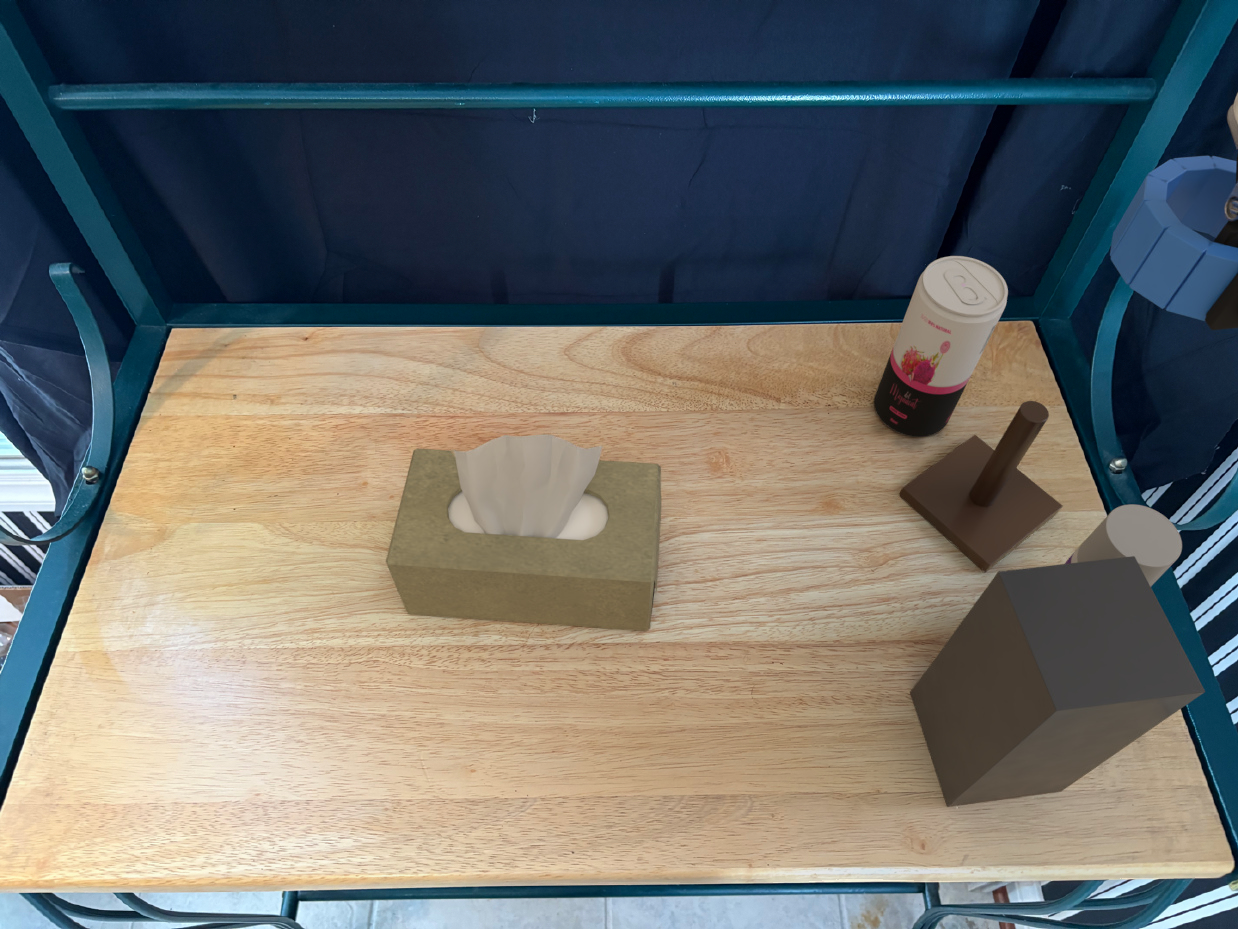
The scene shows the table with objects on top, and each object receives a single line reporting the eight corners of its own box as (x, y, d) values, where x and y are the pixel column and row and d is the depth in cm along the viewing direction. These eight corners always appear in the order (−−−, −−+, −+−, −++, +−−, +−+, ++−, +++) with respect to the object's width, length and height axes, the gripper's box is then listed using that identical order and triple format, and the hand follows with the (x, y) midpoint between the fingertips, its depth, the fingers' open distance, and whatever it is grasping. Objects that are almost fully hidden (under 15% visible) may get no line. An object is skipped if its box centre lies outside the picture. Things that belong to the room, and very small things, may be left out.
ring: (1302, 276, 45) (1351, 218, 42) (1216, 345, 42) (1262, 288, 39) (1167, 195, 48) (1204, 136, 45) (1079, 254, 45) (1112, 196, 43)
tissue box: (659, 520, 73) (670, 394, 60) (653, 632, 67) (664, 520, 54) (427, 505, 74) (388, 377, 61) (402, 615, 68) (353, 499, 55)
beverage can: (892, 447, 77) (946, 323, 65) (860, 390, 81) (905, 263, 69) (961, 431, 79) (1027, 306, 66) (926, 375, 82) (982, 247, 70)
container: (1004, 613, 69) (1091, 505, 56) (1064, 607, 69) (1163, 499, 57) (1027, 671, 66) (1123, 572, 54) (1089, 665, 66) (1198, 565, 54)
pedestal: (1061, 791, 61) (1205, 692, 46) (947, 807, 60) (1056, 711, 46) (1016, 679, 66) (1134, 555, 51) (909, 692, 65) (998, 571, 50)
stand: (1057, 513, 74) (1127, 421, 64) (985, 572, 71) (1047, 485, 61) (970, 442, 78) (1023, 345, 68) (898, 495, 75) (943, 401, 65)
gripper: (1894, 10, 24) (1397, 429, 39) (1496, -221, 33) (1215, 194, 48) (1640, 28, 23) (1234, 446, 39) (1303, -212, 32) (1080, 205, 47)
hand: (1225, 305), depth 43 cm, fingers closed on ring, 1 cm apart
